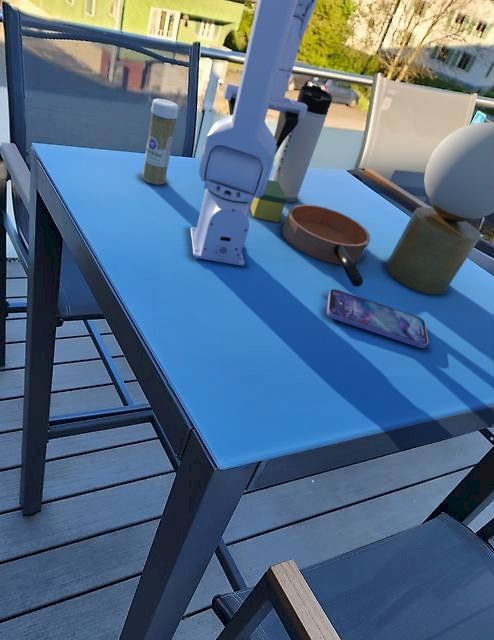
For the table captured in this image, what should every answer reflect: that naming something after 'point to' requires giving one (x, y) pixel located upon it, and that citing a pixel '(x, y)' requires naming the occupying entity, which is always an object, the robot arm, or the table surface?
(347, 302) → the smartphone
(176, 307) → the table surface
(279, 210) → the sponge
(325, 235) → the pan
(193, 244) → the robot arm
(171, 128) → the sprinkles bottle
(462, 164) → the lamp
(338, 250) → the pan handle
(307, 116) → the travel mug
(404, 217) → the table surface
